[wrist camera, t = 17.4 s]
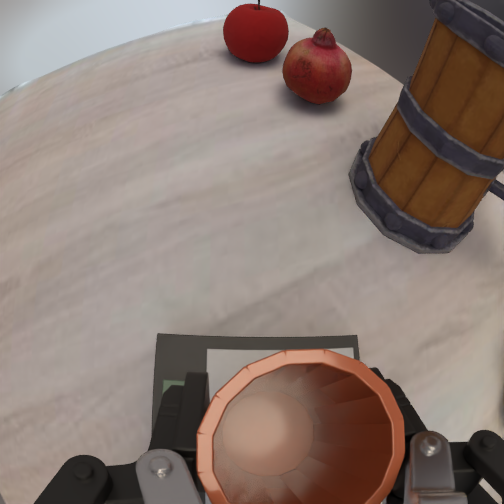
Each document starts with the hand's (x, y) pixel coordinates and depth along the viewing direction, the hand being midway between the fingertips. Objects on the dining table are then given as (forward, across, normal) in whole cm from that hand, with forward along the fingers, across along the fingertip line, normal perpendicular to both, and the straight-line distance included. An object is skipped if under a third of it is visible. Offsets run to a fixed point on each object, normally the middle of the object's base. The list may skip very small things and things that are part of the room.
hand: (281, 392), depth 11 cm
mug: (+20, -18, -4) cm, 27 cm away
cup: (+2, 0, +5) cm, 5 cm away
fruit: (+31, -7, -16) cm, 36 cm away
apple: (+39, 0, -24) cm, 45 cm away
